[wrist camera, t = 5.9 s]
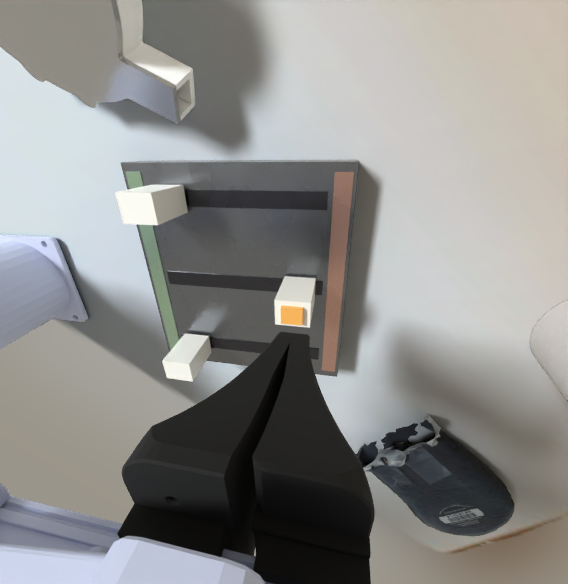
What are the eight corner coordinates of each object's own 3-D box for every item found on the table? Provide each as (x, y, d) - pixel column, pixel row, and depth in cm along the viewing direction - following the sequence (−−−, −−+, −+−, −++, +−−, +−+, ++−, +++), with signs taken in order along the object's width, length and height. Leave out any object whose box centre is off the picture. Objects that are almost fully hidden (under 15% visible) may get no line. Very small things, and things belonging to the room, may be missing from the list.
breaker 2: (188, 349, 23) (166, 378, 20) (184, 333, 22) (162, 360, 19) (211, 352, 22) (192, 381, 19) (208, 335, 22) (189, 364, 19)
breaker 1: (158, 211, 18) (123, 224, 15) (152, 184, 17) (114, 192, 14) (187, 212, 17) (157, 225, 14) (183, 184, 16) (150, 192, 14)
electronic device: (347, 433, 30) (438, 525, 31) (349, 480, 24) (458, 590, 26) (422, 387, 27) (520, 492, 28) (443, 430, 21) (562, 557, 23)
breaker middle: (285, 297, 19) (273, 327, 16) (284, 276, 18) (273, 302, 15) (314, 300, 18) (309, 330, 15) (315, 278, 18) (310, 305, 15)
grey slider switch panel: (182, 341, 25) (170, 356, 24) (141, 161, 19) (119, 162, 17) (337, 359, 23) (337, 377, 21) (357, 159, 16) (359, 161, 14)
